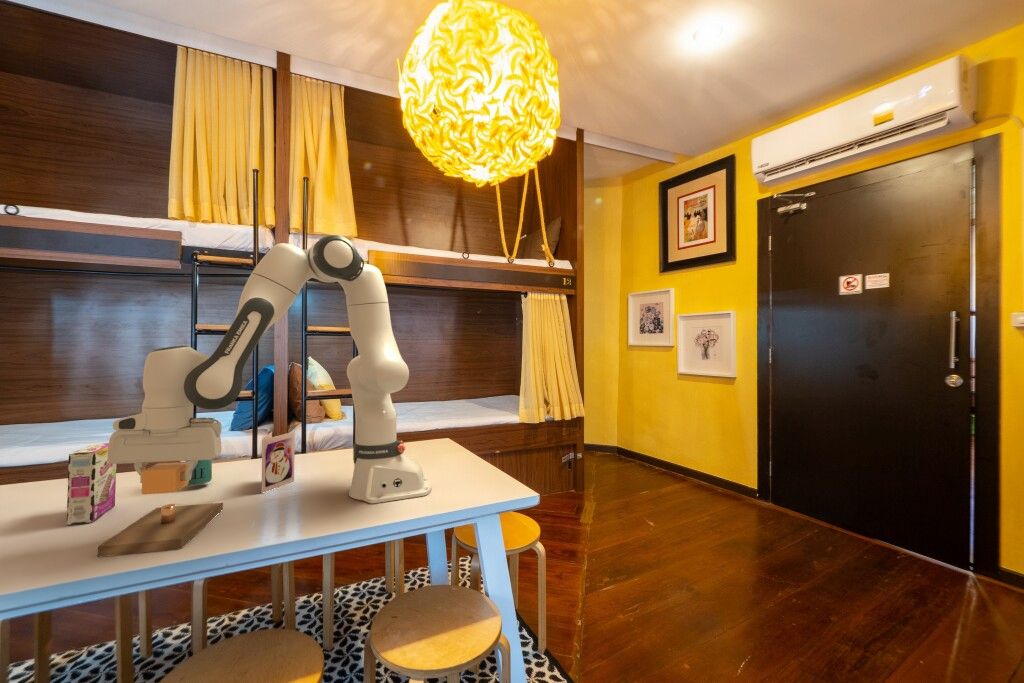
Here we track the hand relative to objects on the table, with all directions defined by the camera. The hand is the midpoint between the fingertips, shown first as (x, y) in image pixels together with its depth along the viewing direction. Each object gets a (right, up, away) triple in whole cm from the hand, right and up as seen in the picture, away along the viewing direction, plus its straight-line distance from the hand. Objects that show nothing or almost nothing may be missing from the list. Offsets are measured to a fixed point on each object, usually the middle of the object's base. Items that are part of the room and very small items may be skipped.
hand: (166, 481), depth 93 cm
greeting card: (+6, -12, +30) cm, 32 cm away
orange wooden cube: (0, -2, 0) cm, 2 cm away
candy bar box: (-25, -11, +8) cm, 28 cm away
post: (0, -9, 0) cm, 9 cm away
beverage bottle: (-14, -11, +29) cm, 34 cm away
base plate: (0, -11, 0) cm, 11 cm away
